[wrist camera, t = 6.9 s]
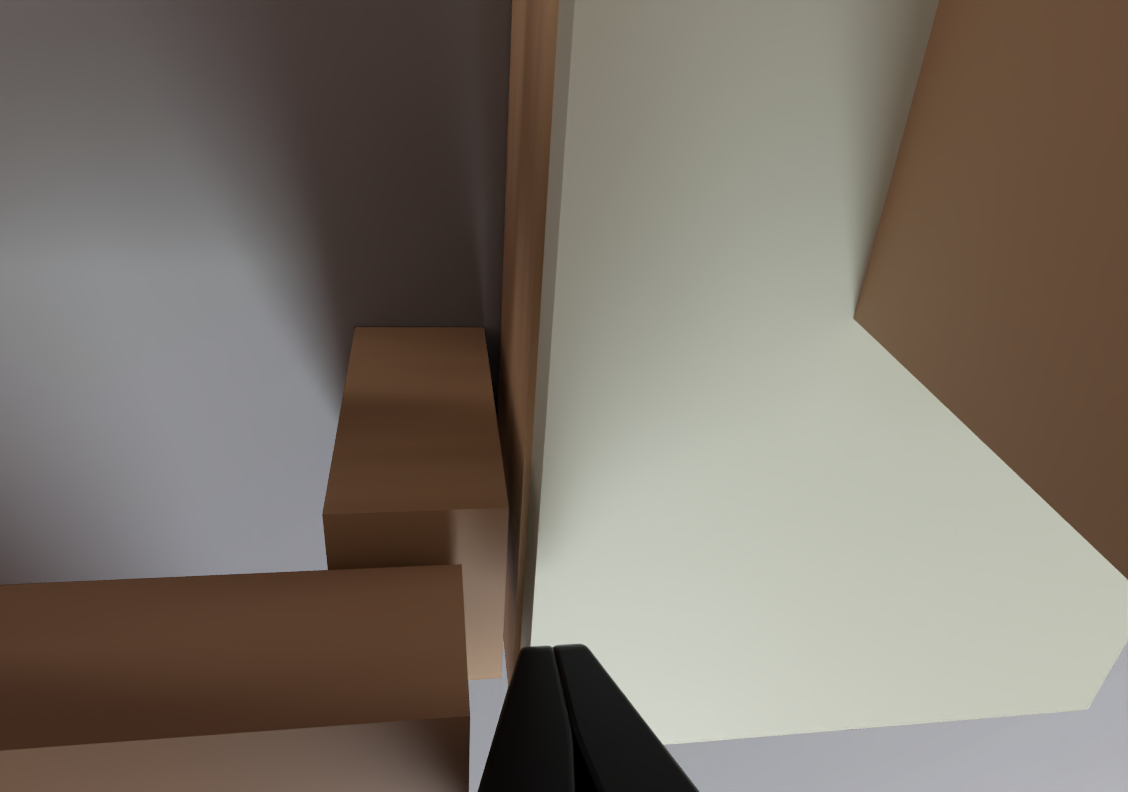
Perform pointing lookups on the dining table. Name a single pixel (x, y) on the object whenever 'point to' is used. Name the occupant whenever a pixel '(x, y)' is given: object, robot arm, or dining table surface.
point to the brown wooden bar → (237, 683)
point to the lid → (834, 360)
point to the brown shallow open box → (457, 405)
